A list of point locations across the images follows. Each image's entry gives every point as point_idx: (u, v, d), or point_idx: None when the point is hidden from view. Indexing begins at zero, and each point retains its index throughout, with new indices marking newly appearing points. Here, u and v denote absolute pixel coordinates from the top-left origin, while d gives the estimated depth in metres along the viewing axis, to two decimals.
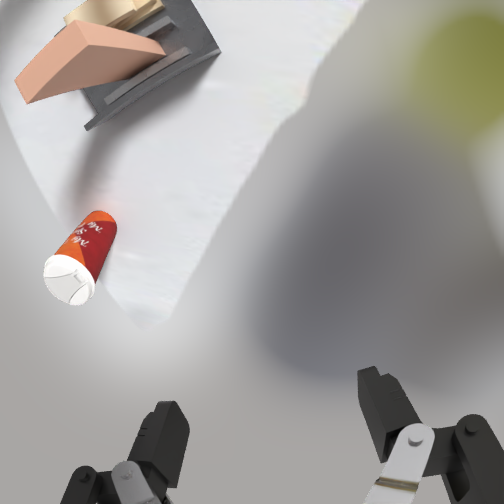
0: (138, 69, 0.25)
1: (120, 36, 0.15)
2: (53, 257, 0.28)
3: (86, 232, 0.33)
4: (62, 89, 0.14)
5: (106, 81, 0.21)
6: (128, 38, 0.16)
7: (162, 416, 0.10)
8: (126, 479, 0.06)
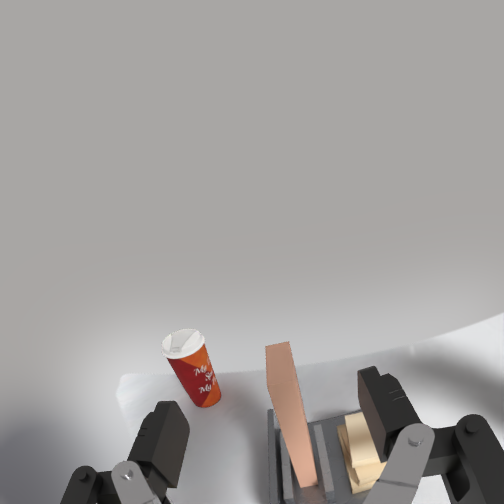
0: None
1: (296, 430, 0.22)
2: (201, 344, 0.44)
3: (204, 379, 0.44)
4: None
5: None
6: (299, 440, 0.22)
7: (162, 416, 0.10)
8: (126, 479, 0.06)
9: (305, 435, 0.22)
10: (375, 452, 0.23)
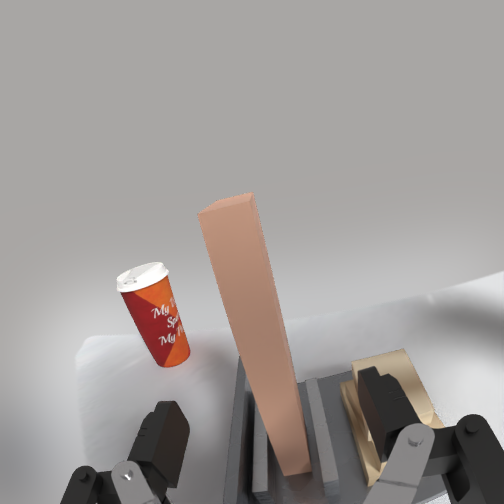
0: None
1: (264, 343, 0.13)
2: (163, 275, 0.35)
3: (165, 324, 0.36)
4: None
5: None
6: (272, 371, 0.14)
7: (162, 416, 0.10)
8: (126, 479, 0.06)
9: (282, 358, 0.13)
10: None
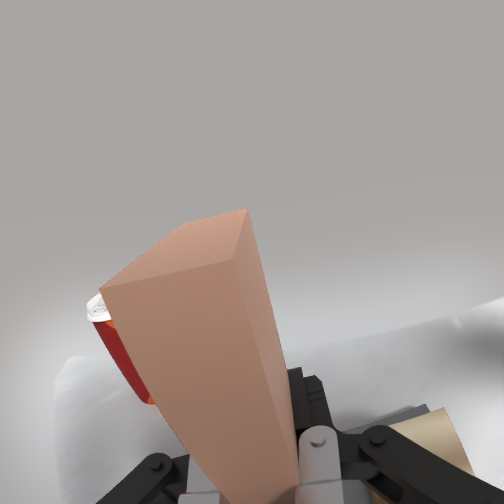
0: None
1: (268, 490, 0.06)
2: None
3: None
4: None
5: None
6: None
7: None
8: None
9: None
10: None
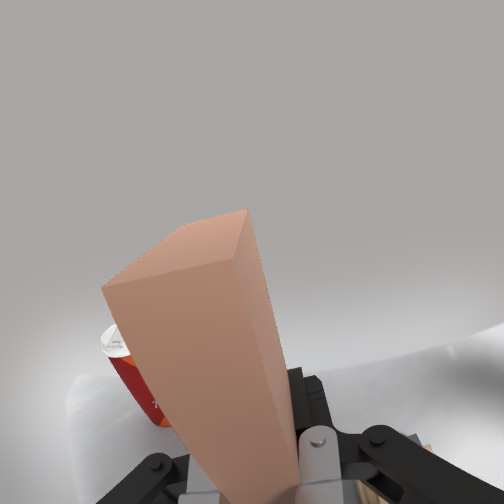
0: None
1: (268, 490, 0.06)
2: None
3: None
4: None
5: None
6: None
7: None
8: None
9: None
10: None
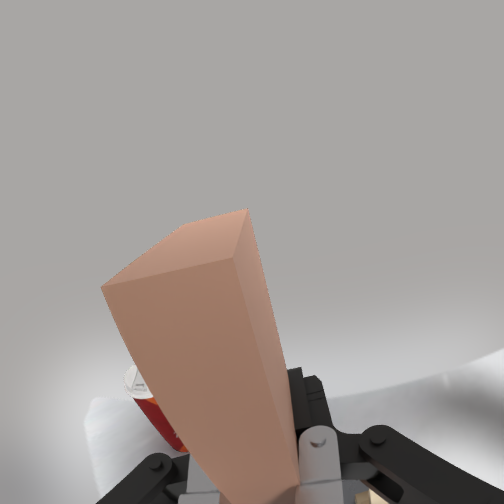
0: None
1: (268, 490, 0.06)
2: None
3: None
4: None
5: None
6: None
7: None
8: None
9: None
10: None
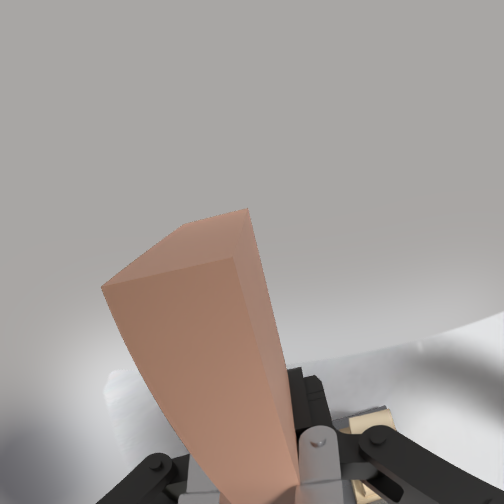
0: None
1: (268, 490, 0.06)
2: None
3: None
4: None
5: None
6: None
7: None
8: None
9: None
10: None
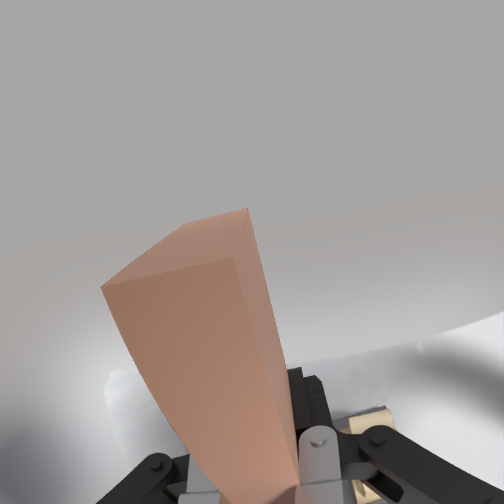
0: None
1: (267, 490, 0.06)
2: None
3: None
4: None
5: None
6: None
7: None
8: None
9: None
10: None
